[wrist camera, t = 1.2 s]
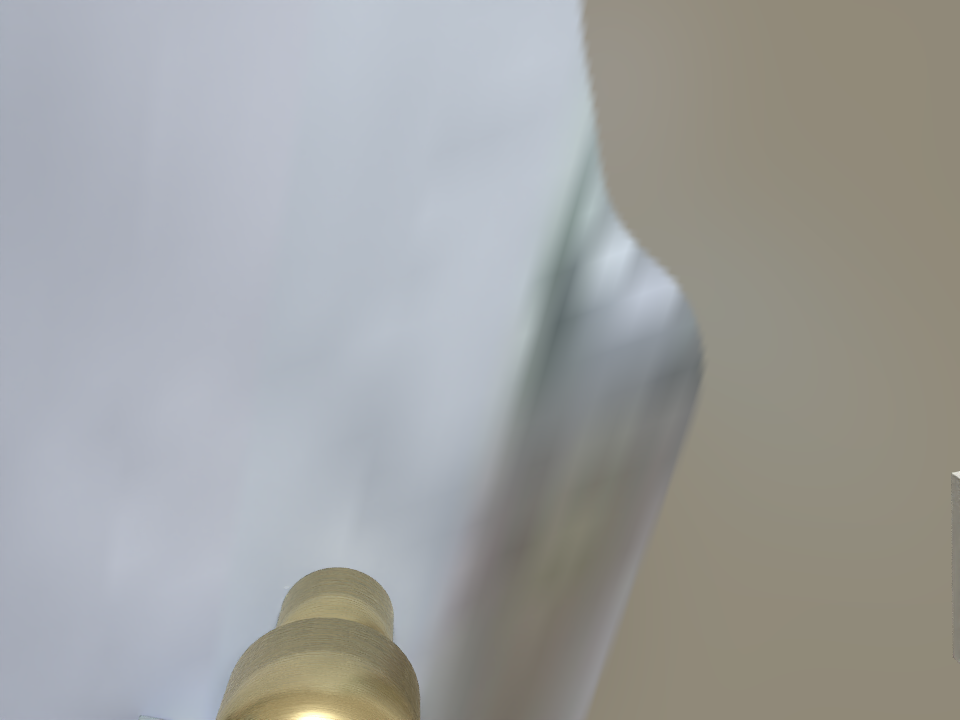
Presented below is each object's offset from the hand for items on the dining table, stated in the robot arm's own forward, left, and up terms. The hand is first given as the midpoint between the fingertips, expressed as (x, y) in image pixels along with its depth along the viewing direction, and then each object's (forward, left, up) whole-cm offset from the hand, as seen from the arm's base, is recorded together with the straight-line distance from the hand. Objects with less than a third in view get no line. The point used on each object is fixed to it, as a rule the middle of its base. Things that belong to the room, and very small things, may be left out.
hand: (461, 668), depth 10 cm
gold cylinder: (-8, -9, -20) cm, 23 cm away
